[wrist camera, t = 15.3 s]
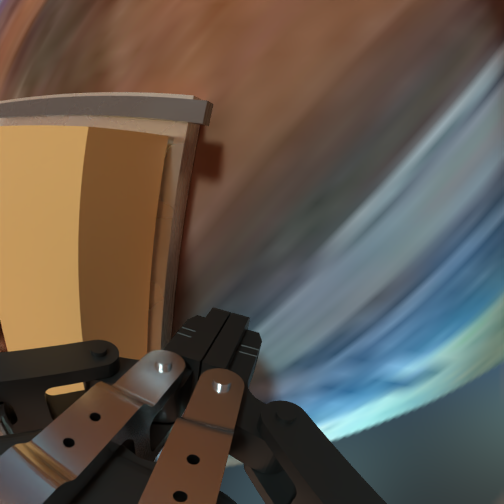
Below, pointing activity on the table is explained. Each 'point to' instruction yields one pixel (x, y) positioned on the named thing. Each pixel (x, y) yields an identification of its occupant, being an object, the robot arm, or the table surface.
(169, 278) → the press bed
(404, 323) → the table surface
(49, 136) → the block
